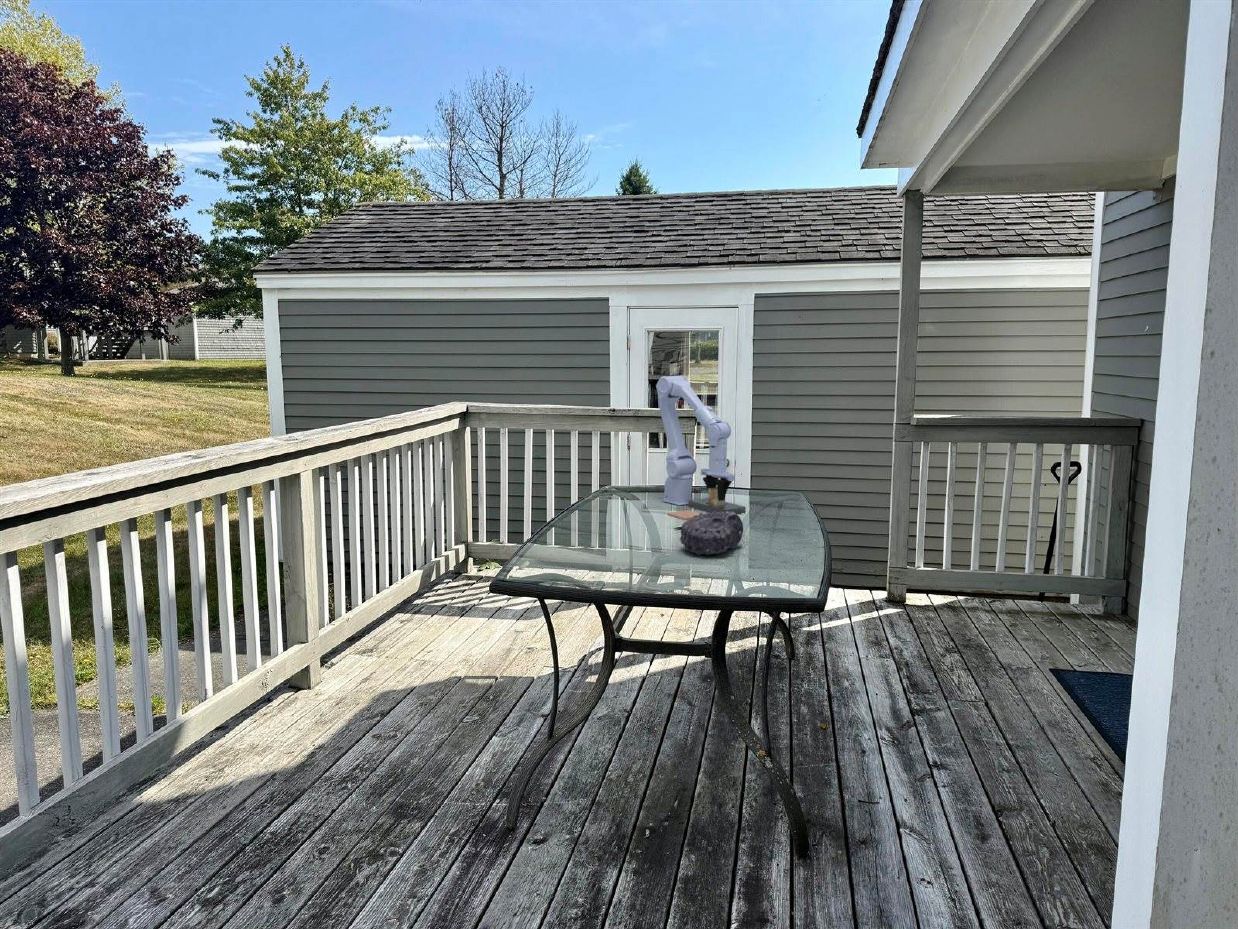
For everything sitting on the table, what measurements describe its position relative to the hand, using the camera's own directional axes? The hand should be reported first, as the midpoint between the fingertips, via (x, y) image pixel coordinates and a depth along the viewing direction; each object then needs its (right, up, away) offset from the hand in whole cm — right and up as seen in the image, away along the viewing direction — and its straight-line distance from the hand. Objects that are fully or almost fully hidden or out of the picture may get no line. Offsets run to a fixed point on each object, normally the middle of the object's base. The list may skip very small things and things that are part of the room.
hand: (716, 499), depth 283 cm
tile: (-11, -5, -8) cm, 15 cm away
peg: (0, -3, +1) cm, 3 cm away
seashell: (-6, -12, -51) cm, 52 cm away
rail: (0, -4, +1) cm, 4 cm away
